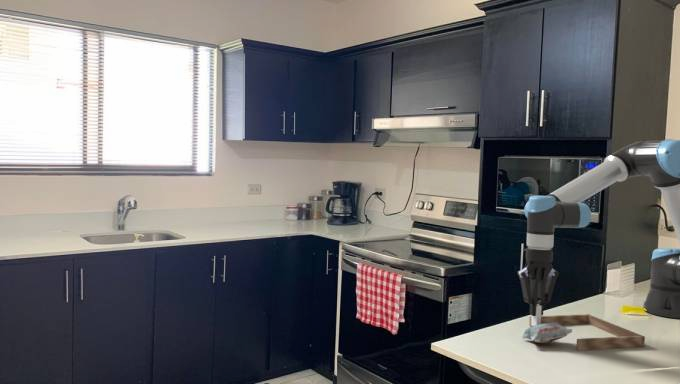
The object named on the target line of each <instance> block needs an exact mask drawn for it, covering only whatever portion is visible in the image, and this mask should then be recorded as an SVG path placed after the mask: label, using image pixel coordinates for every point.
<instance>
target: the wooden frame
mask: <svg viewBox="0 0 680 384" xmlns="http://www.w3.org/2000/svg"><path fill="white" fill-rule="evenodd" d="M531 317H532V315H530V316H529V321H528V324H529V325H528V326H529V327H532V325H531ZM543 323H560V324H561V325H562V326H564V325H565V326H566V325H577V324H579V325H581V324H589V325H591V326H593V327H595V328H597V329H599V330H602V331H604V332H606V333H609V334H610V335H614V336H608V337H586V338H576V350H577V351H593V350H596V351H597V350H609V349H611V350H613V349H626V348H627V349H629V348H643V347H645V341H646V339H645V338H646V337H645V336H644V335H642V334H639V333H637V332H634V331H631V330H629V329H626V328H624V327H622V326H619V325H616V324H614V323H611V322H609V321H607V320H604V319H602V318H599V317H596V316H593V315H590V314H588V313H586V314H584V313H583V314H562V315H543V316H541V324H543Z"/></svg>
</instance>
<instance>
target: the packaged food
mask: <svg viewBox="0 0 680 384" xmlns="http://www.w3.org/2000/svg"><path fill="white" fill-rule="evenodd" d="M571 333H573V329H571V328H567V327H565V326H564V325H561V324H560V323H543V324H539V325H535V326H532V327H531V326H529V327H528V328H526V329H525V331H524V333H523V335H522V339H527V340H530V341H531V342H534V343H539V344H542V343H543V344H544V343H552V342H555V341H558V340H560V339H562V338H565V337H567V336H568V335H570V334H571Z"/></svg>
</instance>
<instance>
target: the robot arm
mask: <svg viewBox="0 0 680 384" xmlns="http://www.w3.org/2000/svg"><path fill="white" fill-rule="evenodd" d="M634 177H649V178H650V180H651V183H652V185H653V187H654V188H656V189H658V190H660V193H661V195H662V198H663V201H664V204H665V207H666V210H667V213H668V215H669V218H670V221H671V224H672V227H673V229H674V232H675V235H676V237H677V240H678V243H679V245H680V139H672V138H671V139H667V138H666V139H663V140H661V139H659V140H639V141H635V142H634V143H630V144H628V145H626V146H624V147H622V148H620V149H618V150H616V151H615V152H613V153H611V154H609V155H607V156H606V157H605V158H604V159H603V162H602V163H600V164H598V165H597V166H594V167H593V168H592V169H590V170H588V171H586V172H584V173H583V174H582V175H579V176H577V178H574V179H573V180H571V181H569V182H568V183H566V184H564V185H562V186H561V187H559V188H558V189H556V190H554V191H552V192H551V193H549V194H547V195H531V196H530V197H529V198H528V201H527V202H526V204H525V205H524V208H523V209H524V211H523V212H524V216H525V217H526V218H527V220H526V221H527V223H526V225H527V226H526V246H527V247H526V248H525V260H526V262H525V265H524V268H523V269H521V270H518V271H517V276H518V277H519V280H520V286H521V291H522V292H521V293H522V296H523V297H522V298H523V301H524V303H527V304H529V315H530V317H531V316H532V317H531V325H532V326H535V325H539V324H541V316H544V308H545V306H547V304H550V302H551V300H552V296H553V292H554V289H555V288H554V287H555V284H556V281H557V278H559V275H560V272H559V271H558V270H555V269H554V268H553V265H552V262H553V257H554V250H553V247H554V243H555V242H554V241H555V240H554V238H555V236H554V235H555V229H556V228H561V229H563V228H565V229H567V228H568V229H569V228H571V229H574V228H575V229H578V228H586V227H587V226H588V225H589V224H590V223H591V221H592V220H591V219H592V211H591V208H590V207H589V205H588V204H586V203H585V202H584V201H586V200H588V199H589V198H591V197H592V196H594V195H596V194H597V193H599V192H602V191H603V190H604V189H607V188H608V187H610V186H611V185H613V184H615V183H616V182H620V183H621V182H624V181H626V180H627V179H630V178H634ZM583 202H584V203H583ZM650 262H651V263H650V285H649V290H648V293H647V295H646V299H645V301H643V308H645V309H646V310H647V311H648V312H649V313H648V312H647V313H648V314H652V315H655V316H660V317H665V318H672V319H680V248H655V249H654V250H653V251H652V256H651V259H650ZM643 308H642V309H643Z"/></svg>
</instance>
